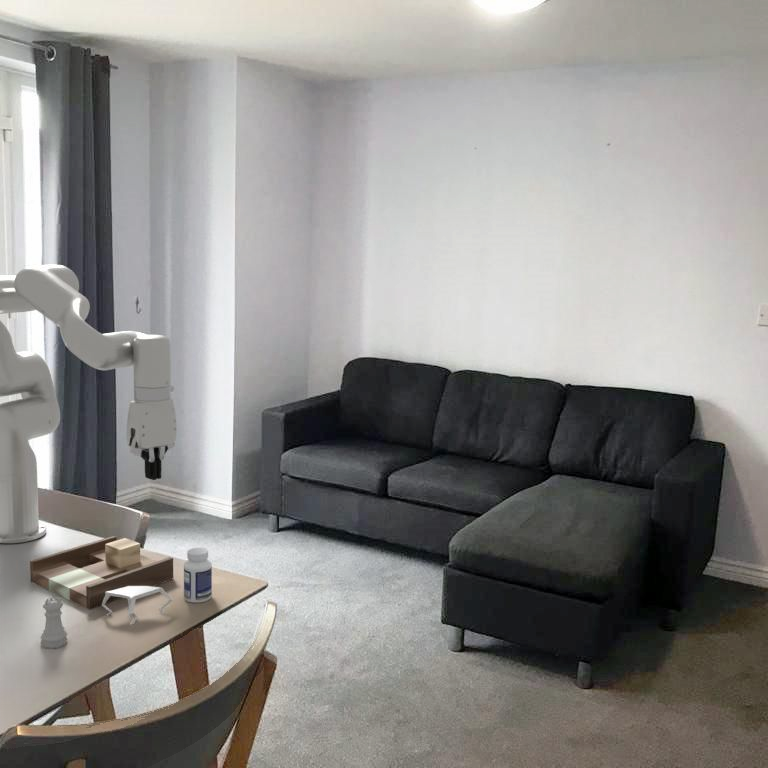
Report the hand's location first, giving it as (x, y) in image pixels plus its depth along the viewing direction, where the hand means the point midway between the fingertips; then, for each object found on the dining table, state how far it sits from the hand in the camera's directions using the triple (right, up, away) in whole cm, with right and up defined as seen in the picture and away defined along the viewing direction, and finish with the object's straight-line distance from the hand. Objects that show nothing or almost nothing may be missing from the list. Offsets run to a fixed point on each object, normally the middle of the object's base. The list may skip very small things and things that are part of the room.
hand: (153, 477), depth 184 cm
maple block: (-5, -17, -3) cm, 18 cm away
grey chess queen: (-8, -25, -34) cm, 43 cm away
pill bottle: (+13, -22, -14) cm, 29 cm away
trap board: (-8, -20, -7) cm, 23 cm away
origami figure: (+3, -24, -22) cm, 33 cm away
